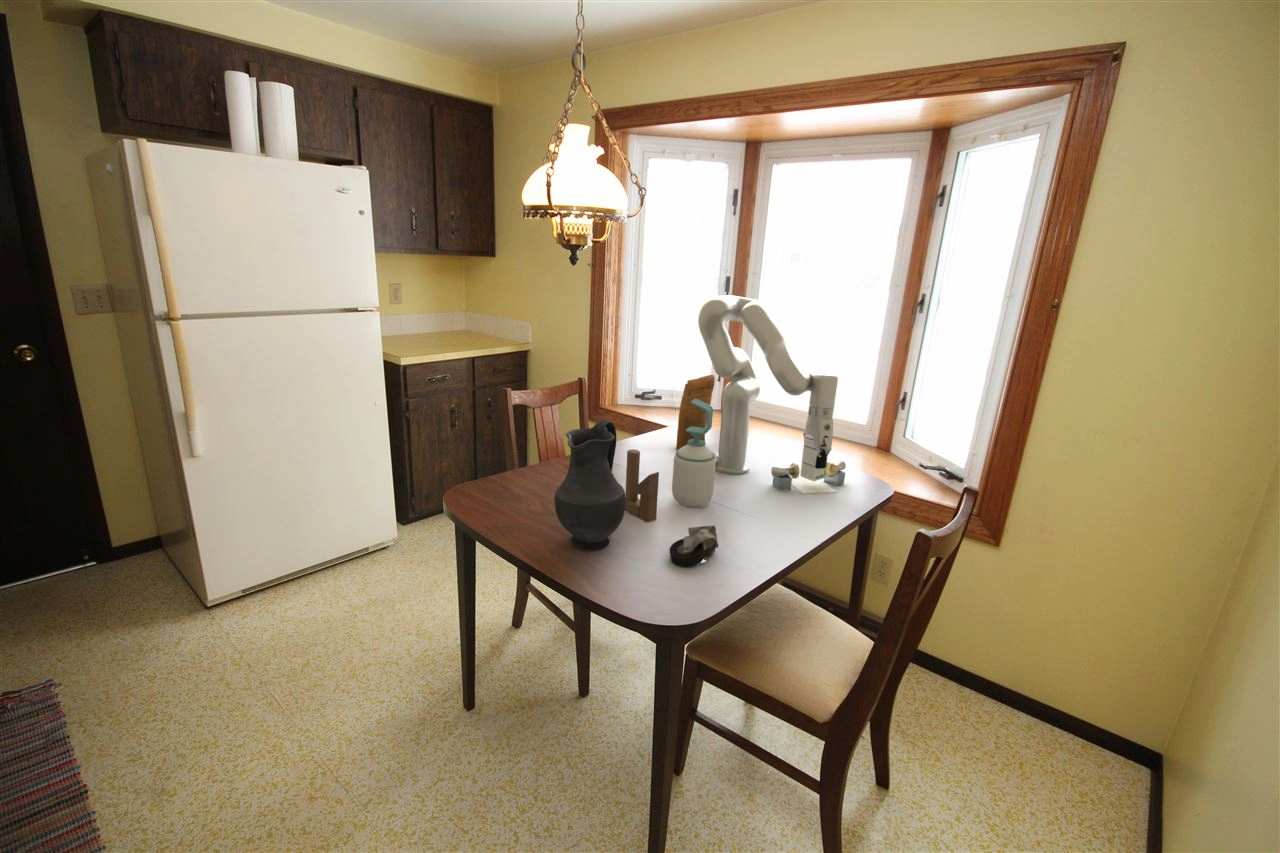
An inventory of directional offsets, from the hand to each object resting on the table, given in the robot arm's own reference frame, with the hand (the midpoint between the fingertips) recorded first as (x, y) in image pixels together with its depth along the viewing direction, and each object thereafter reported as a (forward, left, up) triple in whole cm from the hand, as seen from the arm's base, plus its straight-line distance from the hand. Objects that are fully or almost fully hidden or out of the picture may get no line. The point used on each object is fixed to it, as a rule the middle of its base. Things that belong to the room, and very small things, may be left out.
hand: (813, 463), depth 180 cm
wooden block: (-57, -26, -8) cm, 63 cm away
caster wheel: (-44, -50, -8) cm, 67 cm away
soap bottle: (-41, -16, -8) cm, 45 cm away
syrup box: (0, 0, -5) cm, 5 cm away
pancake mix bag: (-35, +37, -8) cm, 52 cm away
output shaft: (+9, +4, -8) cm, 13 cm away
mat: (0, 0, -8) cm, 8 cm away
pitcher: (-69, -41, -8) cm, 81 cm away
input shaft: (-10, -2, -8) cm, 13 cm away
